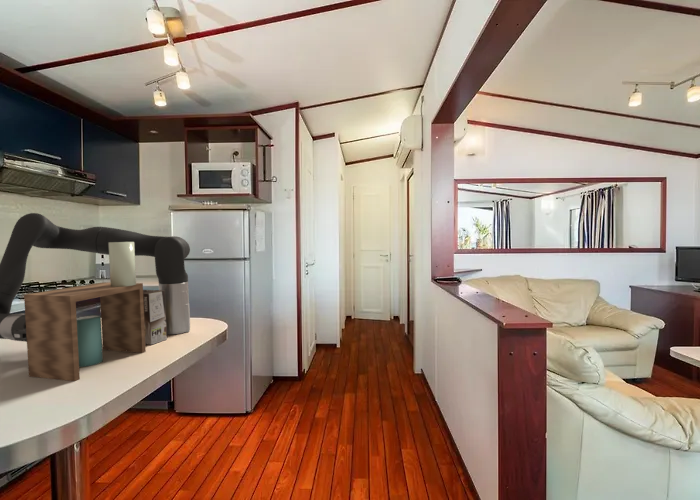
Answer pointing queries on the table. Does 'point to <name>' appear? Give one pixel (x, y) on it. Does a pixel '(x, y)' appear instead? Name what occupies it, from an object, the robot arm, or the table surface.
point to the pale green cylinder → (122, 264)
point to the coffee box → (154, 316)
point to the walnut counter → (61, 326)
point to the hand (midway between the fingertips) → (71, 330)
